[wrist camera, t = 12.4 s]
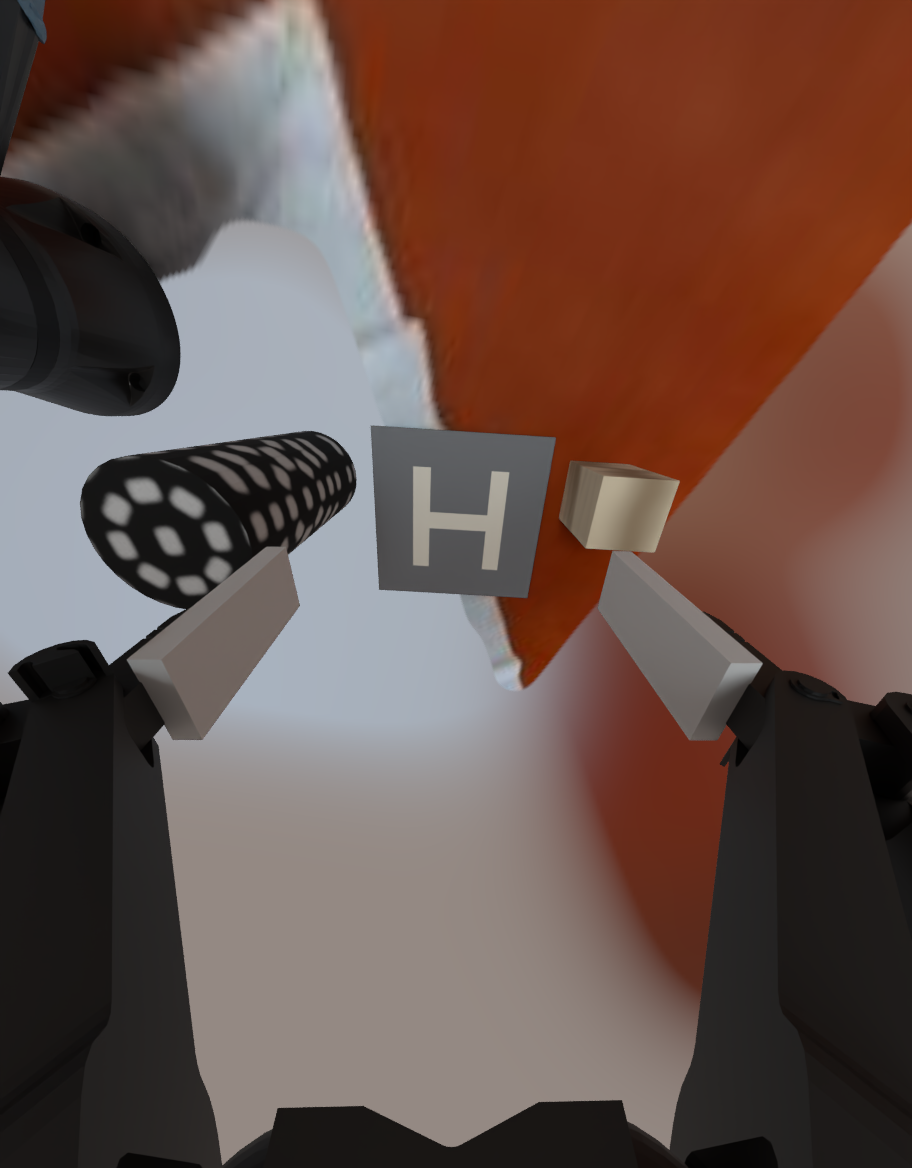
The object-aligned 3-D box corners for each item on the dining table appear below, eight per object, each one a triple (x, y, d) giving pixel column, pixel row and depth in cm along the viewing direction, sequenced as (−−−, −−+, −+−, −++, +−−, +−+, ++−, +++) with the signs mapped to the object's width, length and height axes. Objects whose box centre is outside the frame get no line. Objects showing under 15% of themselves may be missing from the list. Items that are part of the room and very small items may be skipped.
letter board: (379, 588, 41) (379, 589, 41) (371, 425, 33) (370, 425, 33) (526, 596, 42) (527, 598, 41) (555, 437, 33) (555, 437, 33)
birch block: (558, 518, 37) (585, 548, 29) (570, 460, 34) (603, 476, 26) (613, 521, 37) (654, 552, 29) (628, 464, 34) (679, 480, 26)
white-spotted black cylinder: (364, 510, 37) (275, 604, 19) (290, 517, 37) (135, 615, 20) (345, 426, 33) (213, 446, 15) (263, 435, 34) (42, 464, 16)
